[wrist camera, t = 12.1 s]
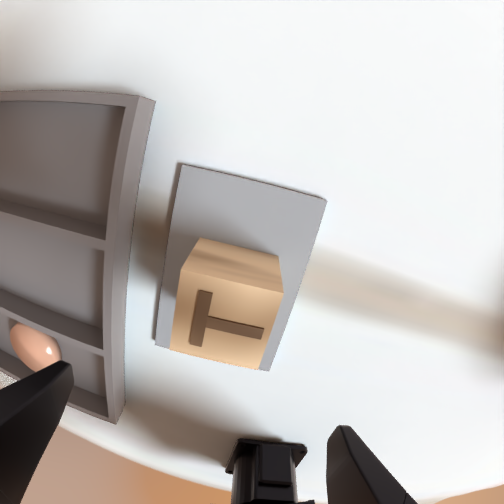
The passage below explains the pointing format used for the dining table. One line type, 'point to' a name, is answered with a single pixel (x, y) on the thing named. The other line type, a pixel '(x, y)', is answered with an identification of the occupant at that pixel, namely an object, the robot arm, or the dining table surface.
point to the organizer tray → (70, 231)
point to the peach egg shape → (34, 347)
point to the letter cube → (226, 303)
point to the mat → (239, 236)
